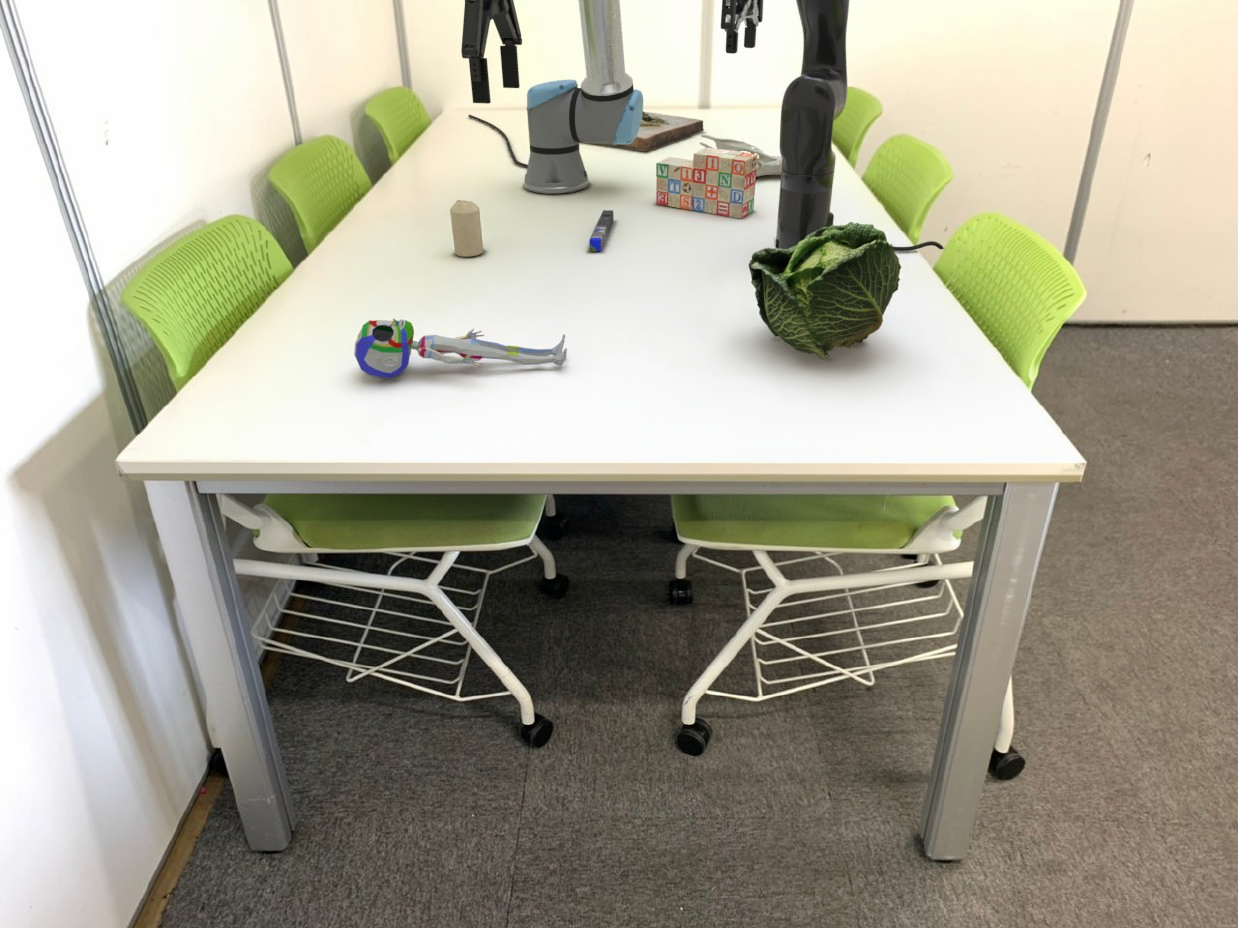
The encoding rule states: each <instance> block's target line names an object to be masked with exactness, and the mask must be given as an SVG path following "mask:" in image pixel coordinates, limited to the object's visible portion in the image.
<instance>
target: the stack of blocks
mask: <svg viewBox="0 0 1238 928" xmlns="http://www.w3.org/2000/svg"><path fill="white" fill-rule="evenodd" d="M713 148H714V147H712V148H706V147H703V148H702V149H700V150H698V151H696V152H694V153H693V159H688V158H680V157H675V156H668V157H666V158H663V159H662V160H659V161H657V162H656V164H655V166H656V167H655V176H656V180H655V181H656V182H655V183H656V185H655V191H656V193H655V195H656V197H655V198H656V199H655V200H656V202H655V203H656V205H661V206H668V207H673V208H678V209H684V210H689V211H694V212H695V211H697V212H701V213H707V214H714V215H718V216H725V217H730V218H735V219H740V220H741V219H743V218H745V217H747V216H748V215H750V214H752V213H753V212H754V207H755V194H756V181H757V177H756V173H757V158H759V155H758V154H756V153H754V154H751V153H750V152H745V151H733V150H731V151H730V150H722V149H717V148H715V149H713Z"/></svg>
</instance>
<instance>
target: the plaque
mask: <svg viewBox="0 0 1238 928" xmlns="http://www.w3.org/2000/svg"><path fill="white" fill-rule="evenodd" d="M704 130H705V129H704V120H702V119H698V118H693V117H685V116H679V115H669V114H663V113H659V112H650V111H644V110H643V113H642V119H641V124H640V128H639V131H638V134H637V136H636V138H635V140H634V141H633V142H632V143H630V144H617V145H613V144H599V143H591V144H593V145H597V146H598V145H599V146H607V147H612V148H620V149H625V150H632V151H640V152H648V151H654V150H656V149H659V148H662V147H663V146H664V147H665V146H667V145H670V144H672V143H676V142H680V141H682V140H684V139H687V138H691V137H692V136H694V135H696V134H698V133H700V132H704Z"/></svg>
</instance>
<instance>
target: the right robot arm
mask: <svg viewBox="0 0 1238 928" xmlns="http://www.w3.org/2000/svg"><path fill="white" fill-rule="evenodd" d="M795 3H796V6H797V11H798V15H799V19H800V23H801V28H802V29H801V30H802V38H803V39H802V40H803V43H802V45H803V47H802V60H801V61H802V62H801V68H800V69H801V70H800V75H799V76H798V77H796V78H794V79H793V80H791V82H790V83H789V84H788V85H787V87H786V89H785V91H784V94H783V97H782V101H781V109H780V123H779V125H780V127H779V154H780V157H782V170H781V175H780V183H779V194H778V195H779V197H778V206H777V207H778V208H777V221H776V233H775V237H774V238H773V239H774V240H773V246H774V248H781V249H789V248H791V247H794V246H796V245H798V243H799V242H800V241H802V240H804V239H805V237H806V236H808V235H809V234H811V233H813V232H815V231H817V230H818V229H820V228H824V227H829V226H833V225H834V219H835V215H834V213H833V212H831V206H832V205H831V204H832V195H833V185H834V178H835V169H836V161H837V160H836V159H837V158H836V153H835V151H833V147H832V146H833V145H832V144H833V132H834V122H835V121H836V120H837V119H838V118H839V117H840V116H841V115H842V113H843V111H844V110H845V108H846V105H847V101H848V92H849V91H848V90H849V89H848V67H847V65H848V64H847V31H848V30H847V29H848V20H849V12H850V11H849V10H850V0H795ZM720 14H721V16H720V29H721V30H724V32H725V33H726V35H725V38H726V39H725V53H726V54H731V55H732V54H733V55H734V54H737V53H738V49H739V48H738V47H739V46H738V45H739V29H740V27H741V23H743V22H744V26H745V27H744V33H743V34H744V35H743V36H744V38H743V47H744V48H745V49H754V48H755V47H756V40H757V28H758V27H759V23H762V22H763V15H764V0H722V1H721V13H720ZM930 246H933V247H936V248H938V250H944V249H945V248H944V246H943V245H942V244H940V243H939V242H937V241H935V240H934V241H933V240H932V241H931V240H930V241H925V242H921V243H918V244H915V245H912V246H893V247H894V252H910V251H915V250H918V249H919V250H920V249H922V248H925V247H930Z"/></svg>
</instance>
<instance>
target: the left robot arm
mask: <svg viewBox="0 0 1238 928" xmlns="http://www.w3.org/2000/svg"><path fill="white" fill-rule="evenodd" d="M514 1H515V0H464V10H463V21H462V37H461V57H462V59H467V60H468V65H469V74H470V75H469V76H470V85H471V86H470V87H471V96H472V103H473V104H491V90H490V79H489V67H488V58H487V57H485V54H486V47H487V41H488V36H489V31H490V30H489V29H490V23H491V21H492V20H493V23H494V26H495V29H496V31H497V33H498V36H499V38H500V41H501V44H502V45H500V46H499V52H500V64H501V75H502V76H501V77H502V78H501V79H502V88H504V89H519V88H520V85H521V84H520V74H519V73H520V72H519V71H520V70H519V58H518V46H522V45H523V38H522V32H521V28H520V24H519V23H520V22H519V19H518V18H519V17H518V15H517V9H516V6H515V2H514ZM577 3H578V10H579V21H580V30H581V40H582V48H583V49H582V50H583V57H584V65H585V75H586V77H584V79H583V80H582V81H581V83H580V87H579V84H578V82H577V80H576V79H559V80H552V81H546V82H543V83H538V84H535V85H532V86H531V87H530V88H529V89H528V90H527V93H526V109H525V110H526V113H527V114H526V115H527V127H528V140H529V141H528V142H529V157H528V162H527V163H524V162H521V161H519V160H518V159H517V157H516V156H515V155H516V154H515V153H514V151H513V149H512V146H511V143H510V140H509V138H508V137H507V134H505V132H504V131H503V130H501V128H499V127H498V126H496V125H495V124H493V123H490V122H489V121H486V120H485V119H482V118H479V117H477V116H474V115H472V114H468V118H471V119H473V120H476V121H478V122H481V123H482V124H485V125H487V126H489V127H491V128H493V129H494V130H496V131H497V132H499V134H501V136H503V138H504V140H505V142H506V144H507V147H508V150H509V153H510V155H511V157H512V160H513V162H514V163H515V164H517V165H519V166H521V167H523V168H526V172H525V175H524V180H523V183H524V188H525V189H526V190H527V191H530V192H531V193H535V194H536V193H537V194H543V195H544V194H545V195H562V194H570V193H576V192H579V191H583V190H584V189H586V188H587V187H589V175H588V173H587V172H588V171H587V170H586V168H585V164H584V161H583V158H582V156H581V153H580V143H583V144H584V143H585V144H592V143H599V144H613V145H617V144H630V143H632V142H633V141H634V140H635V138H636V136H637V134H638V131H639V128H640V124H641V119H642V113H643V111H644V96H643V92H642V91H641V90H639V89H637V88H635V89H634V80H633V78H632V76H631V75H630V74H628V73H627V72H626V64H625V63H626V62H625V53H624V52H625V50H624V38H623V37H624V36H623V26H622V13H621V1H620V0H577Z"/></svg>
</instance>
